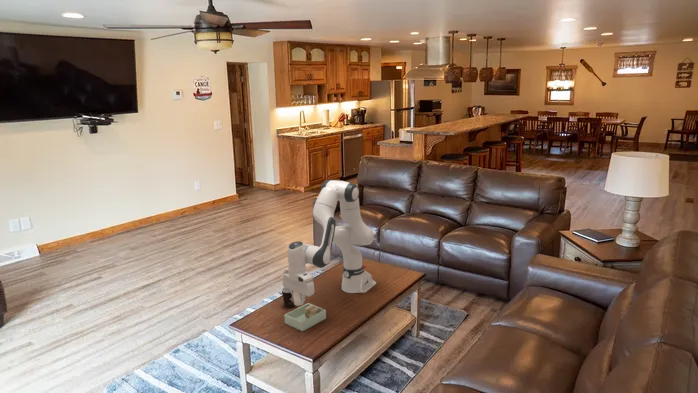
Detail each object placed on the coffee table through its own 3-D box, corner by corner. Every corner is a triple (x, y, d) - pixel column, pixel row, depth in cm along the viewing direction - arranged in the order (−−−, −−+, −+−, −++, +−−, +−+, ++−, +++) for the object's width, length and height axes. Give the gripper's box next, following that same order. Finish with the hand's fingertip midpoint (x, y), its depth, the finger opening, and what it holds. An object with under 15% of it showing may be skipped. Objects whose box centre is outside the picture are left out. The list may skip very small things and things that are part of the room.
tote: (308, 311, 261) (308, 302, 259) (326, 318, 252) (325, 309, 251) (284, 323, 248) (284, 314, 247) (302, 331, 240) (301, 322, 238)
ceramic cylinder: (291, 303, 244) (291, 291, 242) (299, 300, 248) (298, 287, 246) (298, 306, 241) (297, 293, 239) (305, 303, 244) (305, 290, 243)
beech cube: (305, 317, 253) (304, 308, 252) (311, 313, 257) (311, 305, 255) (311, 319, 250) (311, 311, 249) (318, 316, 253) (318, 307, 252)
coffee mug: (283, 310, 263) (282, 293, 260) (282, 303, 271) (281, 286, 269) (304, 307, 265) (303, 291, 262) (302, 300, 273) (301, 284, 271)
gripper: (278, 270, 245) (280, 295, 248) (306, 280, 232) (307, 307, 235) (288, 267, 250) (289, 291, 253) (315, 276, 236) (316, 302, 240)
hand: (298, 299), depth 244 cm, fingers closed on ceramic cylinder, 5 cm apart
